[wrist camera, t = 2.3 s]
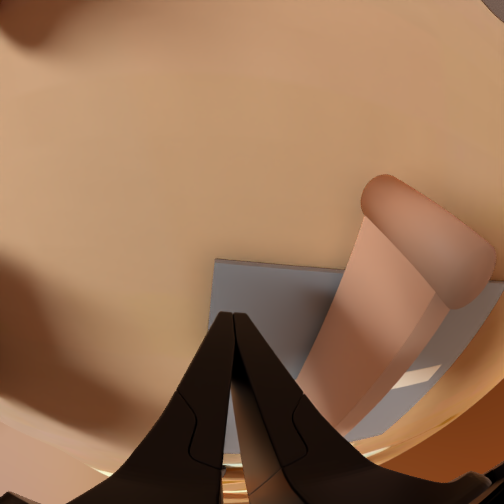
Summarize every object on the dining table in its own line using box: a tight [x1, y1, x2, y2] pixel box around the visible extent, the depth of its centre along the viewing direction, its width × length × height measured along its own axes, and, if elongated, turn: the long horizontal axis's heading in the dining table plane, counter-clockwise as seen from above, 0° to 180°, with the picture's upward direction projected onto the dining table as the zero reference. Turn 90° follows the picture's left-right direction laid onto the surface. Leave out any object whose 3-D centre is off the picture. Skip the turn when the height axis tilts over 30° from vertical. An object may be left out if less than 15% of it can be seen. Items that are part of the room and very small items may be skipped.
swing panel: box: [296, 174, 496, 437], centre depth 10 cm, size 13×2×5 cm, turn 171°
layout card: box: [208, 259, 504, 454], centre depth 19 cm, size 24×22×1 cm
